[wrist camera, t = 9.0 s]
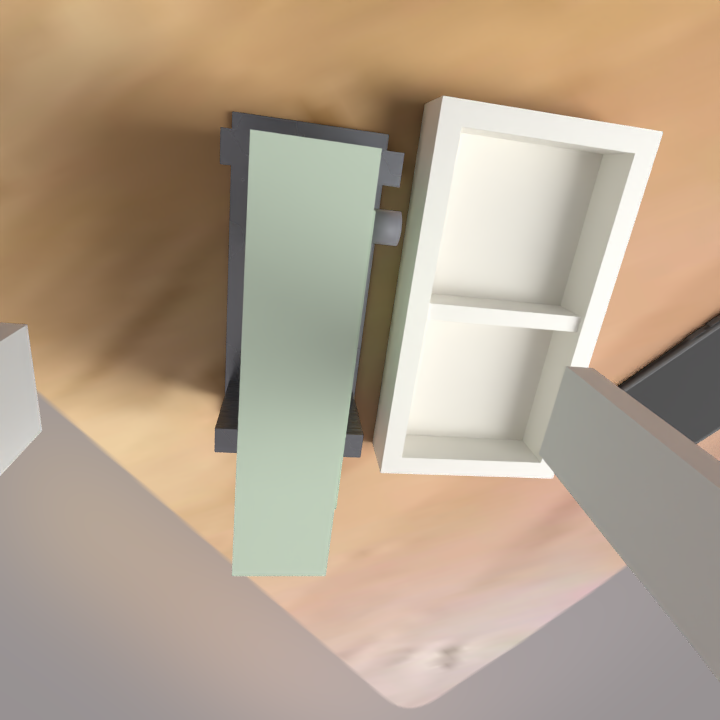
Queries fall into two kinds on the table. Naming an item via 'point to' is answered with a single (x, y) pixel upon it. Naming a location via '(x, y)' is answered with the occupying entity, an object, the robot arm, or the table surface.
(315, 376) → the door panel
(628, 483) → the robot arm
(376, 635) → the table surface
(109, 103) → the table surface
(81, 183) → the table surface
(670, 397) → the smartphone
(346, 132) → the grey four-post stand
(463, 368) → the white divided tray
